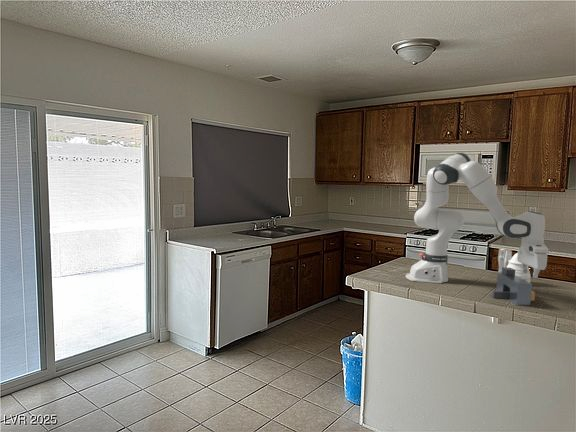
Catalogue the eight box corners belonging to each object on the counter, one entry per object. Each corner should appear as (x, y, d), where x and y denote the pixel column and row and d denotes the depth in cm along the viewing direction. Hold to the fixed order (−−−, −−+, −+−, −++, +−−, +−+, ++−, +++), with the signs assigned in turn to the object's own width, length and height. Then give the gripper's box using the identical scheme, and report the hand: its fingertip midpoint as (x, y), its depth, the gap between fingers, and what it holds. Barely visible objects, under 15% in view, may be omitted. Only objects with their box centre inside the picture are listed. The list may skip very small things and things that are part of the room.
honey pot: (533, 286, 217) (536, 253, 215) (507, 284, 219) (510, 251, 217) (524, 280, 229) (527, 249, 227) (500, 279, 232) (502, 247, 230)
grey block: (516, 305, 184) (518, 276, 183) (496, 291, 205) (498, 266, 204) (530, 305, 184) (532, 277, 183) (508, 292, 205) (510, 266, 203)
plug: (494, 299, 193) (495, 290, 192) (490, 296, 197) (491, 288, 197) (534, 300, 192) (535, 292, 191) (529, 298, 196) (530, 289, 196)
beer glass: (494, 273, 245) (496, 248, 244) (505, 273, 246) (507, 248, 244) (501, 276, 238) (503, 250, 237) (512, 276, 239) (514, 250, 237)
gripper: (514, 242, 201) (512, 269, 203) (536, 249, 181) (533, 280, 182) (528, 242, 201) (526, 270, 202) (551, 250, 180) (548, 280, 182)
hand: (529, 275), depth 192 cm, fingers open, 8 cm apart
